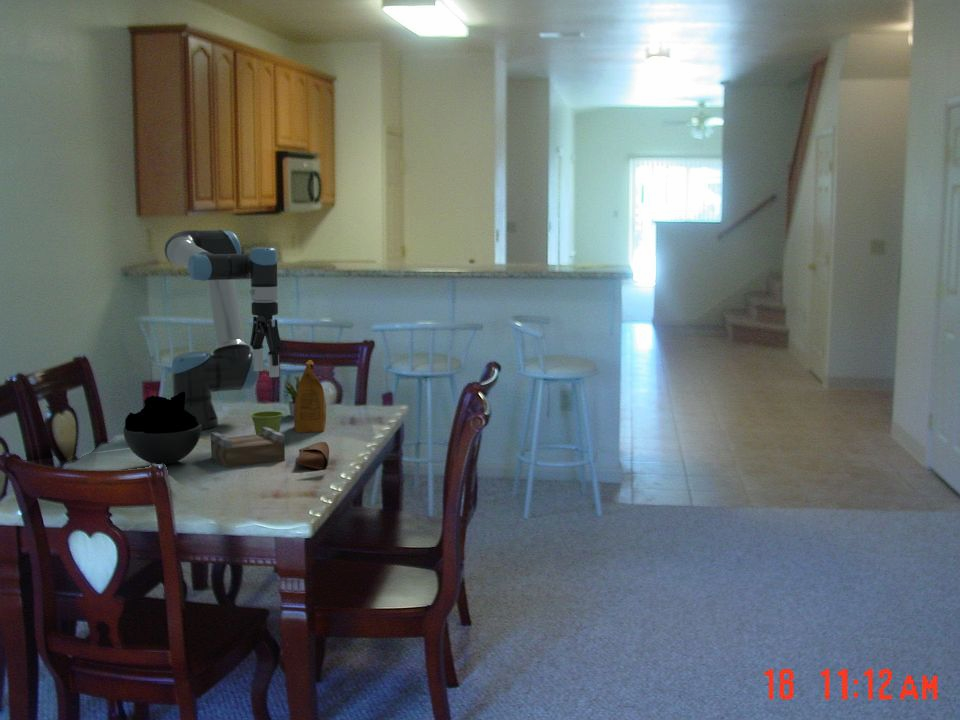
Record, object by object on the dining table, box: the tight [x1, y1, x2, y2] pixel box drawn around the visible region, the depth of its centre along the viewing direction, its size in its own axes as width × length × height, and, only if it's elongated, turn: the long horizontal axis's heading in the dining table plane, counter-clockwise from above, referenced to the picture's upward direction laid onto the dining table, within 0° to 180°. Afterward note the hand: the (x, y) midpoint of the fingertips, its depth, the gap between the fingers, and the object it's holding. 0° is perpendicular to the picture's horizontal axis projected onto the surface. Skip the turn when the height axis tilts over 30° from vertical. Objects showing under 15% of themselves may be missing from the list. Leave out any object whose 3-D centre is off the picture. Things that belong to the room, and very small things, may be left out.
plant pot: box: [250, 410, 284, 435], centre depth 298 cm, size 9×9×9 cm
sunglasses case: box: [295, 441, 330, 470], centre depth 272 cm, size 18×7×7 cm
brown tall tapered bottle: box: [293, 359, 327, 434], centre depth 315 cm, size 10×12×22 cm
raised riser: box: [210, 427, 286, 468], centre depth 277 cm, size 14×16×7 cm
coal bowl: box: [122, 392, 202, 465], centre depth 270 cm, size 20×20×19 cm
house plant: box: [281, 373, 320, 418], centre depth 334 cm, size 14×14×16 cm
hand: (266, 374), depth 296 cm, fingers open, 13 cm apart
